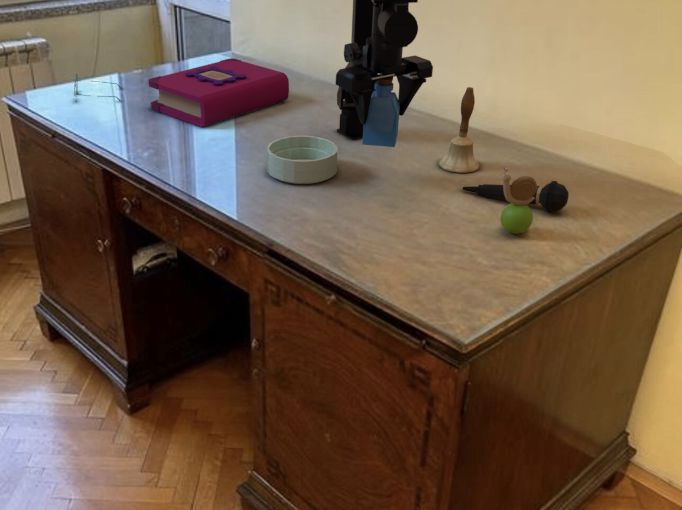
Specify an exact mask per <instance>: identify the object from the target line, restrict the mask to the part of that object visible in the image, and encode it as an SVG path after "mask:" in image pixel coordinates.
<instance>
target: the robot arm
mask: <svg viewBox="0 0 682 510" xmlns="http://www.w3.org/2000/svg"><path fill="white" fill-rule="evenodd" d="M418 2H419V0H352V16H351V42H350V43H349V42H348V43H345V44H344V47H343V58H344V61H345V62H346V63H347V64H346V66H345V67H344V68H340V69H338V70H337V72H336V74H335V86H338V88H337V92H336V105H337V106H338V109H339V110H340V114H339V125H338V126H339V128H337V129H336V133H339V134H340V135H342V136H345V137H346V138H347V139H348V138H349V139H350V140H357V139H361V138H362V139H363V124H365V123H366V120H367V116H368V111H369V106H370V101H371V96H372V94H373V92H374V91H376V90H375V83H376V82H377V80H380V79H383V78H387V77H392V76H393V78H394V77H396V79H397V82H398V83H397V84H398V96H397V98H398V100H399V102H400V112H399V117H402V116H404V114H405V113H406V111H407V109H408V108H409V106H410V104H411V103H412V101H413V99H414V97H415V96H416V94H417V93H418V92H419V90H420V89H421V87H422V85H423V84H424V83H427V79H429V78H432V77H433V72H434V65H433V63H432V62H431V60H430V59H427V58H424V57H421V56H418V55H410V56H404V57H403V51H404V48H406V47H408V46H409V45H411V44H412V43H413V42H414V41H415V39H416V37H417V36H418V33H419V24H418V21H417V19H416V17H415V16H414V15H413V14H412V13H411V12H410V11H409V7H410V5H409V4H413V3H414V4H417V3H418Z"/></svg>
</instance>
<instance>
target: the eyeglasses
mask: <svg viewBox="0 0 682 510" xmlns="http://www.w3.org/2000/svg"><path fill="white" fill-rule="evenodd" d="M75 77H76V80H74V84H73V87H74V88H73V89H74V93H73V94H74V95H76V96H77V95H79V96H82V94H79V93H78V91H79V82H80V80H79V79H78V77H79V76H78V73H77V72H76V74H75ZM92 82H94V83H99V81H97V80H92ZM102 83H105V84H108V82H106V81H102ZM110 84H112V85H117V87H118V88H119V89H122V87H121V86H120V84H119V83H115V82H110ZM83 96H85V97H90V95H87V94H83ZM99 97H102V98H116V99H117V100H118V101H119V102H121V101H122V100H121V99H120V98H119V97H118V96H116V95H115V96H114V95H98V98H99Z"/></svg>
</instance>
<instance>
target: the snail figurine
mask: <svg viewBox="0 0 682 510" xmlns="http://www.w3.org/2000/svg"><path fill="white" fill-rule="evenodd" d="M502 169H503V170H504V171H503V172H504V173H503V175H502V178H501V179H502V185H503V190H504V195H505V198H506V200H505V201H507V202H508V203H509V204H507V205H506V206H505V207H504V208H503V210H501V214H500V224H501V226H502V228H503V229H504V230H505V231H506V232H507V233H510V234H515V235H517V234H518V235H519V234H523V233H524V232H526V231H527V230H529V228H530V227H531V226H532V224H533V220H534V214H533V211H532V209H531V208H530V206H529V205H530V204H529V203H530V202H532V201H533V200H534V197H532V196H533V195H534V194H535V193H536V190H537V186H538V184H537V181H536V179H535V178H534V177H532V176H530V175H522V176H521V175H520V176H519V177H517V178H516V179H515V180H513V181H512V183H511V179H512V176H511V174H510V173H507V172H508V171H509V169H508V168H507V167H506V166H504V167H503V168H502ZM510 185H511V186H510Z"/></svg>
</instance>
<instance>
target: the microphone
mask: <svg viewBox="0 0 682 510" xmlns="http://www.w3.org/2000/svg"><path fill="white" fill-rule="evenodd" d="M510 186H511V184H510ZM461 189H462V191H465V192H470V193H475V194H476V195H477V196H480V197H485V198H490V199H497V200H502V201H507V200H506V198H505V195H504V190H503V184H493V183H491V184H490V183H483V184H478V185H473V186H472V185H471V186H462V188H461ZM569 195H570V193H569V190H568V189H567V187H566V186H565V185H564V184H562V183H559V182H558V180H551V181H550V182H549V183H546V184H545V185H544V186H543V187H542V186H541V185H537V190H536V193H535V194H534V195H533V196H532V197H534V200H533V201H532V202H530V203H529V204H528V205H533V206H534V205H535V206H538V205H540V206H541V207H542V208H543V209H544V210H545V212H547V213H551V214H552V213H553V212H557V211H561V210H562V209H564V208H565V207H566V206H567V204H568V201H569Z"/></svg>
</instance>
